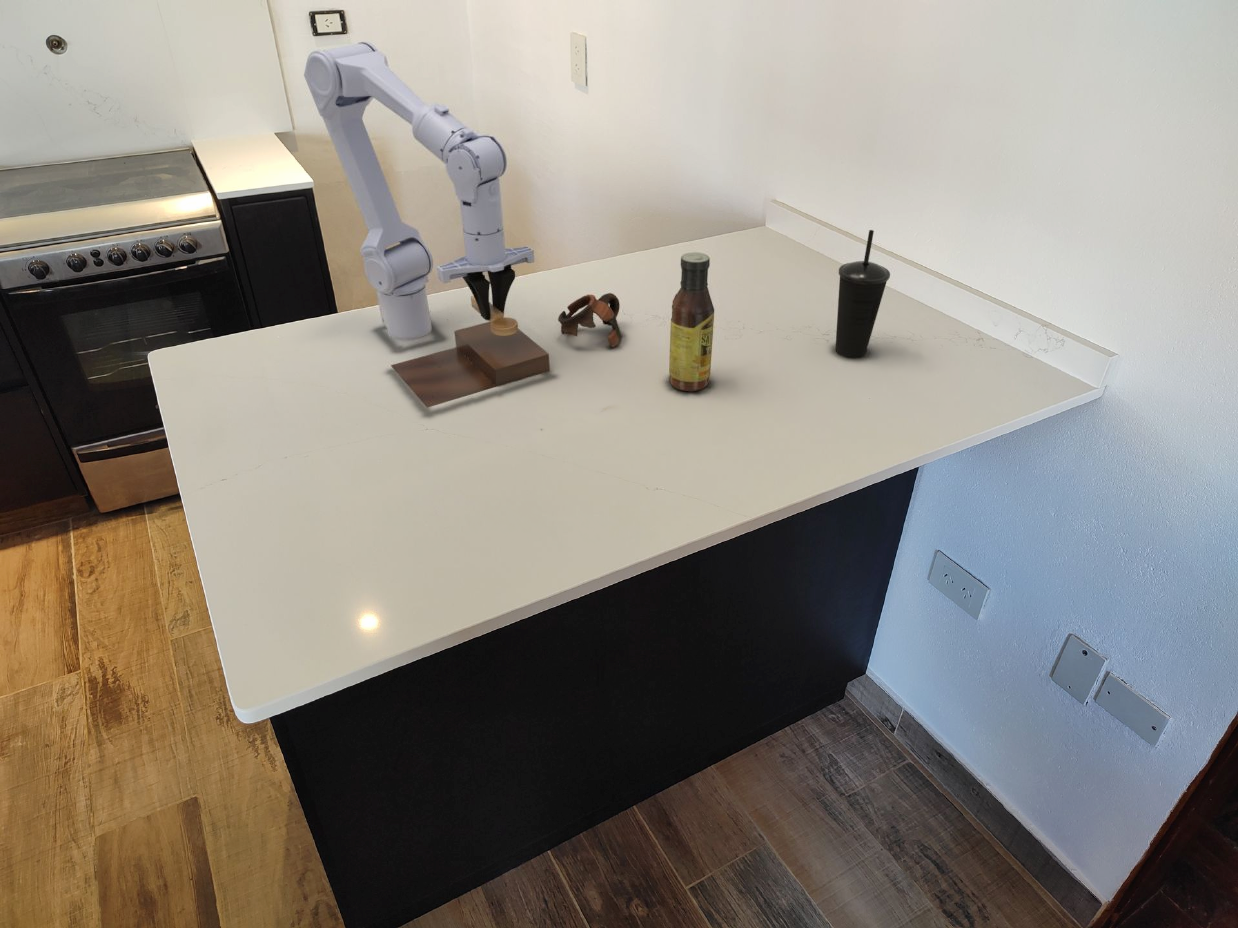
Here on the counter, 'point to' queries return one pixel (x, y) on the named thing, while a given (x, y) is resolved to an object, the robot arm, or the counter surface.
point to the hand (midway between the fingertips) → (492, 316)
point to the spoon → (498, 320)
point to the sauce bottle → (691, 326)
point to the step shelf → (473, 365)
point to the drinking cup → (858, 303)
